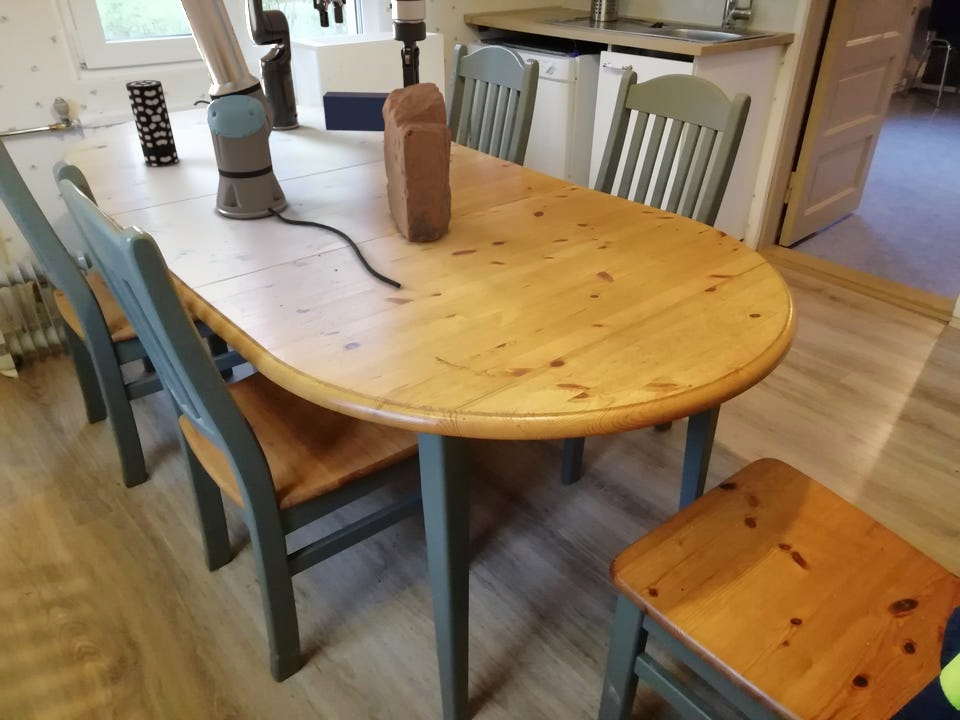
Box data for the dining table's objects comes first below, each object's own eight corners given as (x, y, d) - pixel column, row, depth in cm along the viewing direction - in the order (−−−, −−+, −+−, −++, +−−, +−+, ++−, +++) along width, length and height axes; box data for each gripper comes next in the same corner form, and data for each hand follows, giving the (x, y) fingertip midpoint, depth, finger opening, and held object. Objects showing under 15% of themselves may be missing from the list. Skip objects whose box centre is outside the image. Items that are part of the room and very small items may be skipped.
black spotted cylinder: (184, 157, 190) (167, 80, 179) (169, 166, 183) (151, 87, 172) (155, 156, 190) (136, 79, 179) (139, 165, 183) (119, 86, 172)
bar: (431, 126, 170) (431, 93, 166) (430, 132, 166) (429, 98, 162) (330, 124, 171) (327, 91, 166) (326, 130, 166) (322, 96, 162)
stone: (462, 239, 143) (459, 96, 128) (408, 246, 140) (400, 100, 125) (434, 208, 160) (429, 79, 146) (387, 213, 157) (377, 82, 143)
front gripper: (397, 15, 163) (402, 116, 175) (386, 25, 147) (393, 136, 160) (429, 16, 163) (431, 117, 175) (421, 26, 147) (425, 136, 160)
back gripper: (325, -46, 184) (331, 21, 192) (298, -44, 172) (307, 27, 181) (350, -46, 182) (356, 22, 191) (326, -43, 170) (333, 29, 179)
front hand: (413, 126), depth 168 cm, fingers closed on bar, 5 cm apart
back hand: (332, 25), depth 186 cm, fingers open, 8 cm apart
